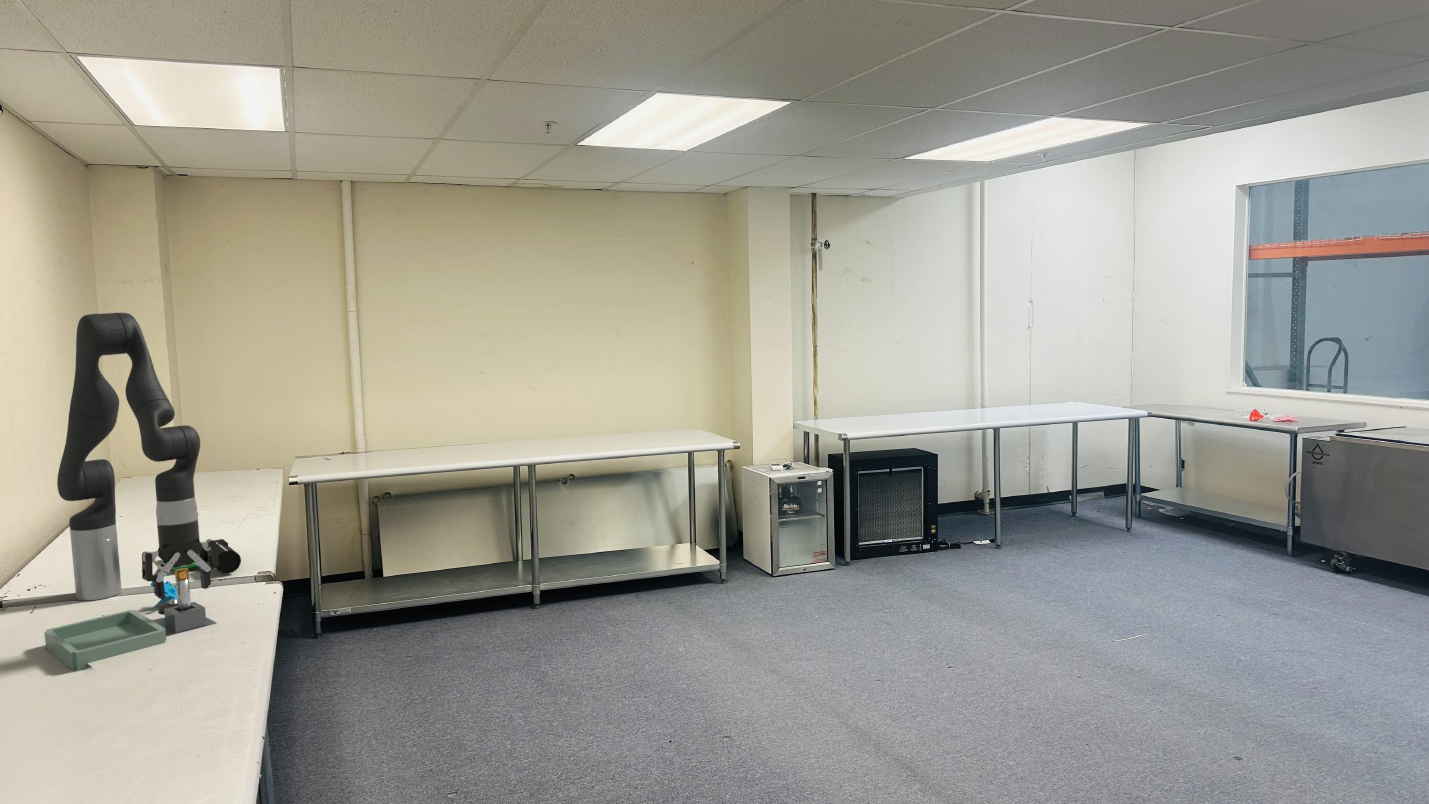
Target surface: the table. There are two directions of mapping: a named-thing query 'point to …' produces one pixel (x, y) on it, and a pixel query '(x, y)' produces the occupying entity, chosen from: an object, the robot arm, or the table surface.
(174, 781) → the table surface
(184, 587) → the capped test tube
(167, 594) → the blue jagged piece
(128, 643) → the tray
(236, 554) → the electronic board model
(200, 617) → the grey slotted holder
